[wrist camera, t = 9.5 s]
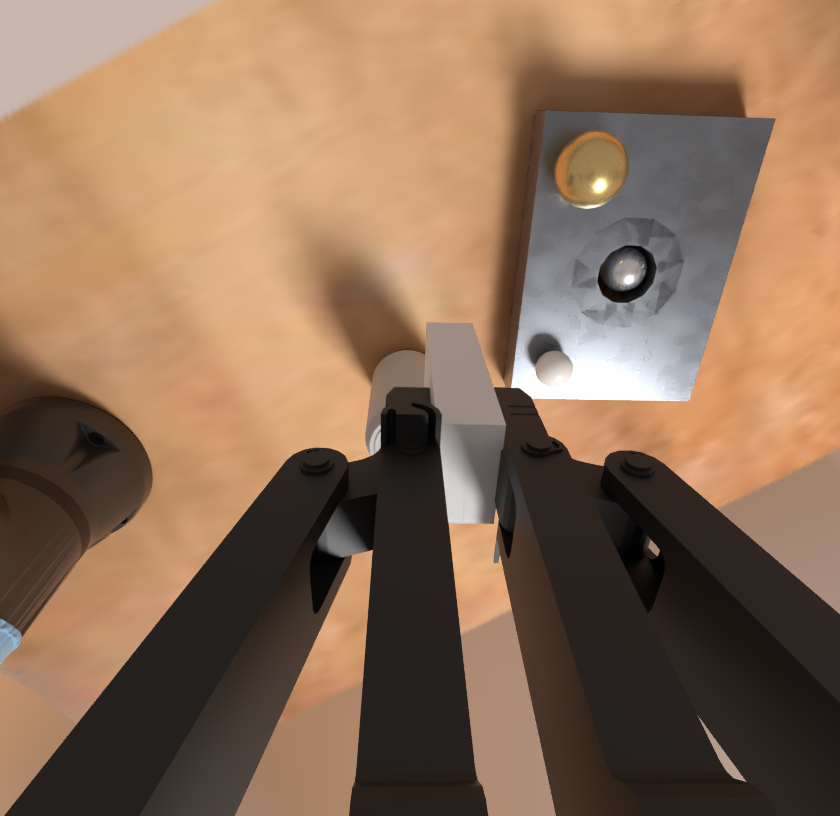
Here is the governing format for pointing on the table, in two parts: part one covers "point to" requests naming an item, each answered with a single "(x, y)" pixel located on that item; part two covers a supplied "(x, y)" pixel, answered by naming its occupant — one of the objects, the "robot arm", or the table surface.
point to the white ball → (554, 369)
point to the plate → (653, 237)
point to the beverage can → (388, 374)
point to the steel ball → (623, 269)
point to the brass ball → (591, 169)
